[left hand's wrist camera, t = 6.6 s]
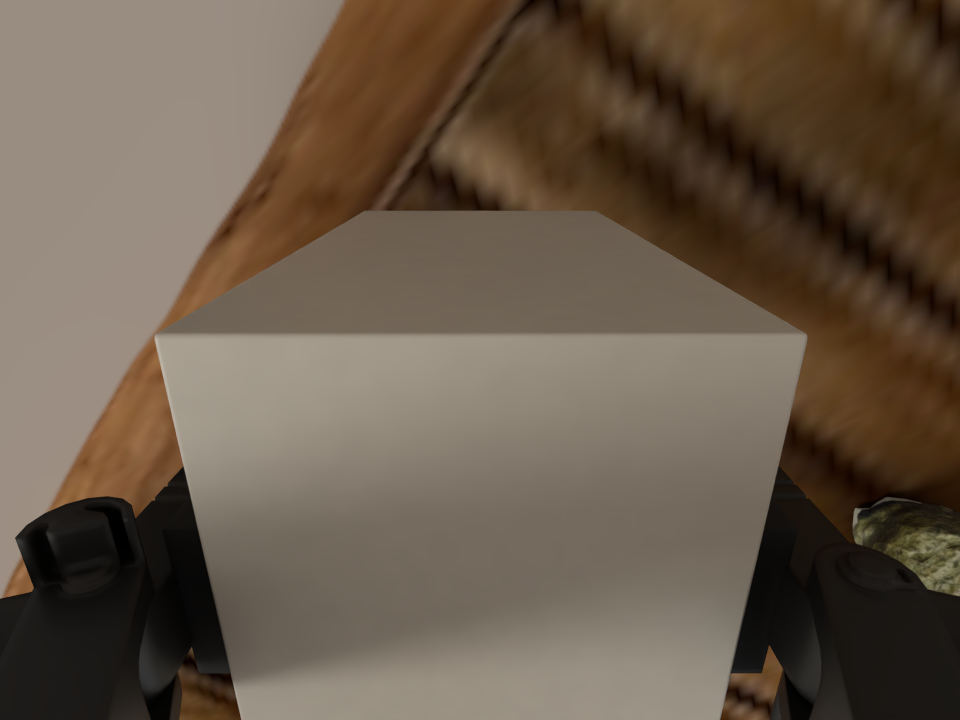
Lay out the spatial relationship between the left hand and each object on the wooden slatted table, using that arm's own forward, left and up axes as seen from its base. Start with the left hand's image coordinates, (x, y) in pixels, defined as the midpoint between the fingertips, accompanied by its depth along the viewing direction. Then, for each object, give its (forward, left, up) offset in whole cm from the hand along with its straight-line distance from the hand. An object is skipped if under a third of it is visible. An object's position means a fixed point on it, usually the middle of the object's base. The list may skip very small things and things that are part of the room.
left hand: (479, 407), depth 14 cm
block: (0, 0, -5) cm, 5 cm away
